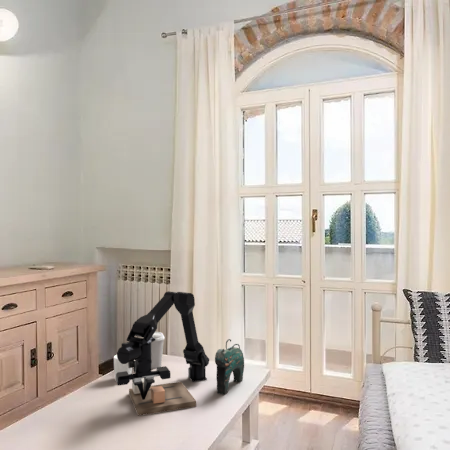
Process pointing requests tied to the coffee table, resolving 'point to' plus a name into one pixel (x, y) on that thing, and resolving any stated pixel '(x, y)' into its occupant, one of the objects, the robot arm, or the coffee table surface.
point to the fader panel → (174, 399)
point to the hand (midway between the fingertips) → (143, 399)
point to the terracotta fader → (157, 394)
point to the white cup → (120, 367)
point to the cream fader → (135, 387)
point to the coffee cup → (157, 349)
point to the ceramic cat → (228, 367)
